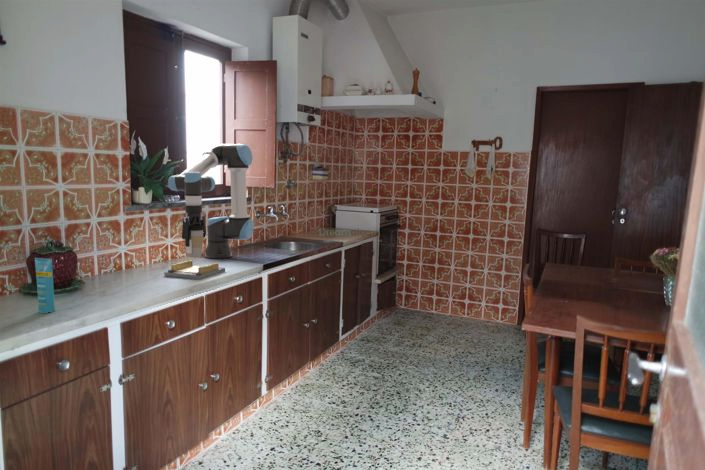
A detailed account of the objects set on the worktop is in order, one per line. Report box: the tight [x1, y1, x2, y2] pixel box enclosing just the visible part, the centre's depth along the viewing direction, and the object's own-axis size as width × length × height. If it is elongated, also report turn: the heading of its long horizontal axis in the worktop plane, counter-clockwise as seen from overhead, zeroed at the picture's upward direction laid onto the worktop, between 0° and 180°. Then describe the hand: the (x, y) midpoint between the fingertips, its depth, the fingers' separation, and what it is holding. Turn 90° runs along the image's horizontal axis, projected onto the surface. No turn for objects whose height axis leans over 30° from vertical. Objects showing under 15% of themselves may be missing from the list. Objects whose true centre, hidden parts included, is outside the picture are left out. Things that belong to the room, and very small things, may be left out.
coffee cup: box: [187, 225, 204, 258], centre depth 233 cm, size 9×9×15 cm
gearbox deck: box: [163, 259, 226, 281], centre depth 235 cm, size 20×20×5 cm
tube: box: [34, 257, 56, 314], centre depth 170 cm, size 7×5×19 cm, turn 81°
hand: (194, 251), depth 234 cm, fingers closed on coffee cup, 8 cm apart
